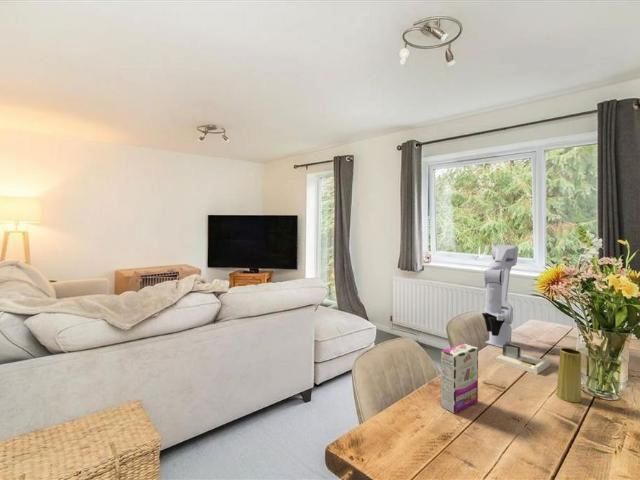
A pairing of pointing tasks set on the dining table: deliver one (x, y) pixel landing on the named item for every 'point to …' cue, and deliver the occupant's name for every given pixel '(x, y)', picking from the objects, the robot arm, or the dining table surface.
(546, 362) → the frame
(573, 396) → the vase
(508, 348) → the clip
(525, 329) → the dining table surface
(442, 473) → the dining table surface
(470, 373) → the candy bar box
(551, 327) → the dining table surface
